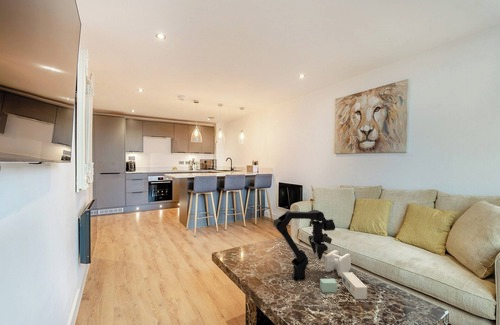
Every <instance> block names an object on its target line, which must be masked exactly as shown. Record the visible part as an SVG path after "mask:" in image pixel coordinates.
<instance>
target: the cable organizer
mask: <svg viewBox="0 0 500 325" xmlns="http://www.w3.org/2000/svg"><path fill="white" fill-rule="evenodd" d="M351 259H352V258H351V253H346V254H344V255H342V256H341V255H339V250H337V249H334V250H332V251H330V252H328V253H326V254H325V256H324V271H325V272H326V273H330V272H331V271H332V272H334V270H335V271H336V273H337V275H338V276H339V277H341V278H342V272H350V271H351V267H352V266H351V264H352V263H351V262H352V261H351Z"/></svg>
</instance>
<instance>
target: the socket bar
mask: <svg viewBox="0 0 500 325" xmlns="http://www.w3.org/2000/svg"><path fill="white" fill-rule="evenodd" d="M341 283H342V284H343V286H344V287H345V288H346V289H347V291H348V292H349V293H350V294H351V295H352V296H353V298H354V299H355V300H367V299H368V286H366V285H365V284H364V283H363V282H362V281H361V279H359V278H358V277H357V275H355V274H354V272H350V271H349V272H342V277H341Z"/></svg>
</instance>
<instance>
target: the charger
mask: <svg viewBox="0 0 500 325" xmlns="http://www.w3.org/2000/svg"><path fill="white" fill-rule="evenodd" d="M341 287H342V285H341V284H340V283H338V282H337V280H336V279H335V278H319V289H320V291H321V292H322V293H338V288H341Z"/></svg>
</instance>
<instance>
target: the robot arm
mask: <svg viewBox="0 0 500 325" xmlns="http://www.w3.org/2000/svg"><path fill="white" fill-rule="evenodd" d="M294 219H296V220H298V219H299V220H303V219H305V220H311V221H309V224H310V225H312V231H311V234H312V235H309V236H308V238H307V240H308V242H309V244H310V247H311V250H312V252H313V254H316V255H317V258H318V260H319V261H321V259H322V257H323V254H324V252H327V251H328V250H329V248H328V246H327V245H326V244H325V243H327V244H329V245H331V244H332V240H333V239H332V238H331V237H330V236H328V234H327V233H325V232H329V231H330V232H331V231H335V230H336V224H335V222H334V219H333V218H330V219H326V217H325V214H324V212H323V211H320V210H318V209H312V210H309V211H290V210H288V211H285V213H283V214H282V215H280V216H279V217H278V218H276V219H274V221H273V222H272V224H273V225H272V226H273V227H274V229H275V230H277V231H278V233H280V234H281V236H282V238H283V240H284V241H285V242H286V244H287V245H288V247H289V248H290V250H291V252H292V254H293V257H294V259H292V261H291V265H292V279H293V280H294V281H306V269H307V267H308V265H309V257H308V256H307V254H306V252H305V251H303V249H299V248H298V246H297V244H296V242H295V241H294V240H293V238H292V237H291V234H289V231H288V225H289V224H290V222H291V221H292V220H294ZM323 231H324V233H323Z"/></svg>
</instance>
